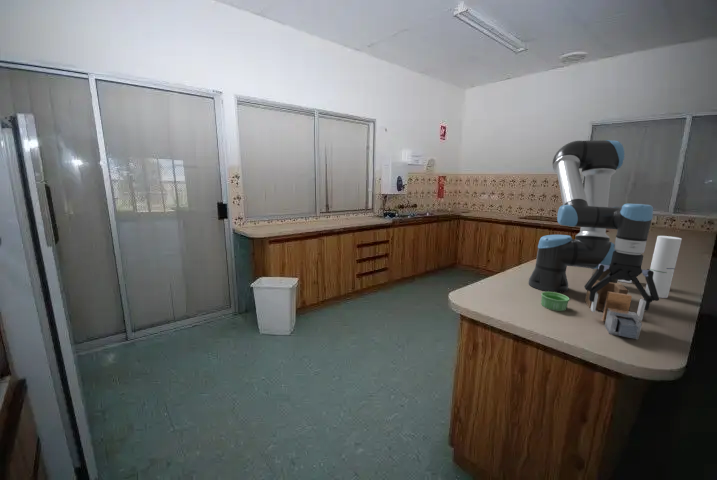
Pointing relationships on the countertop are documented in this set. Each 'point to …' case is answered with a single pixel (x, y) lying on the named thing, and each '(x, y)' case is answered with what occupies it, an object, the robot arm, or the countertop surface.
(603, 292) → the socket
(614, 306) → the brown and grey block
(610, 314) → the sleeve
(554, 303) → the ramekin
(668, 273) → the cylindrical container
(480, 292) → the countertop surface
